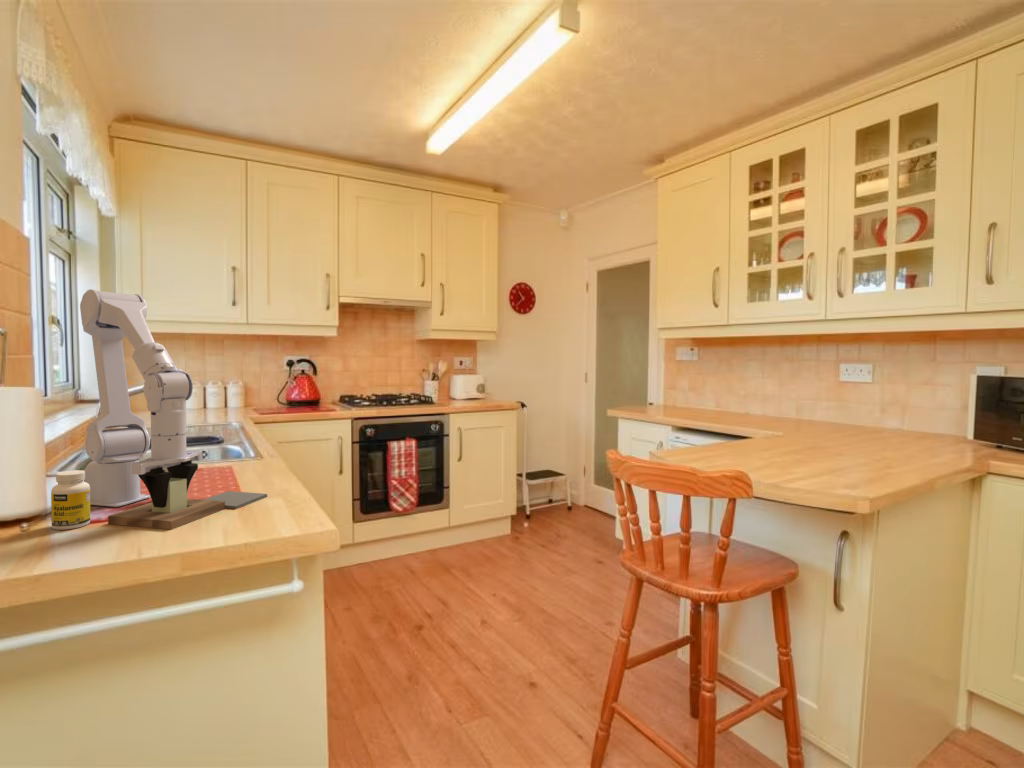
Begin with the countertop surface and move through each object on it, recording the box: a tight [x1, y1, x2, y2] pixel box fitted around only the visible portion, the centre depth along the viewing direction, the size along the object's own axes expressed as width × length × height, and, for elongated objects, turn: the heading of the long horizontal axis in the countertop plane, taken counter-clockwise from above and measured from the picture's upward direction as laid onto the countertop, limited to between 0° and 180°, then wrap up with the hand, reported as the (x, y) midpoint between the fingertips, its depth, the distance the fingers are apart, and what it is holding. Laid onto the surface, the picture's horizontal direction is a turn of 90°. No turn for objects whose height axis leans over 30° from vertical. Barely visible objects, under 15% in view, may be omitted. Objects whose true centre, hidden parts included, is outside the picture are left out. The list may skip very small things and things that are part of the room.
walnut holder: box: [107, 498, 226, 530], centre depth 101 cm, size 13×13×2 cm
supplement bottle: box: [50, 469, 91, 531], centre depth 94 cm, size 5×5×10 cm
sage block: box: [151, 478, 188, 513], centre depth 101 cm, size 4×4×7 cm
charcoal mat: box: [202, 490, 268, 510], centre depth 112 cm, size 10×10×1 cm
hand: (169, 503), depth 101 cm, fingers closed on sage block, 4 cm apart
